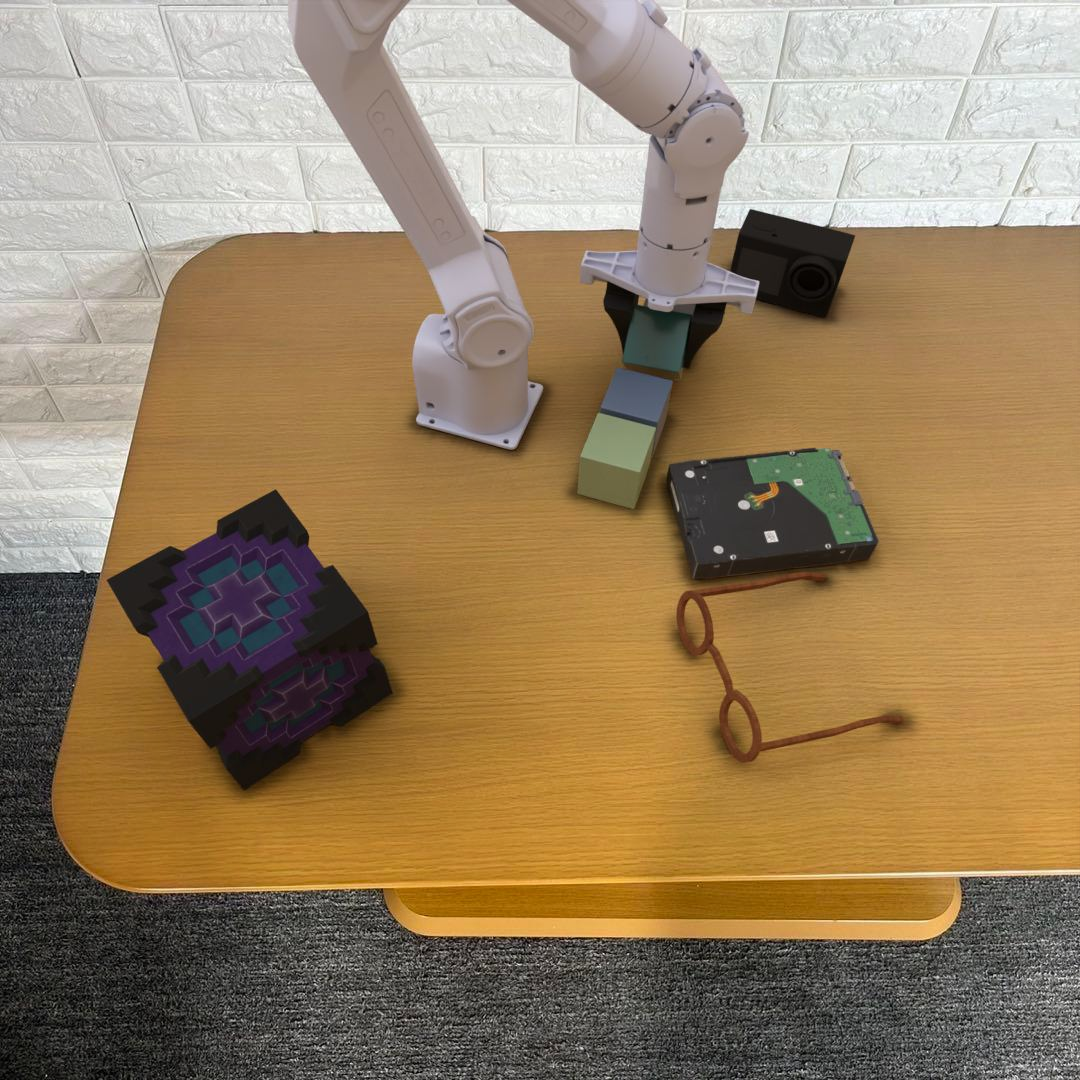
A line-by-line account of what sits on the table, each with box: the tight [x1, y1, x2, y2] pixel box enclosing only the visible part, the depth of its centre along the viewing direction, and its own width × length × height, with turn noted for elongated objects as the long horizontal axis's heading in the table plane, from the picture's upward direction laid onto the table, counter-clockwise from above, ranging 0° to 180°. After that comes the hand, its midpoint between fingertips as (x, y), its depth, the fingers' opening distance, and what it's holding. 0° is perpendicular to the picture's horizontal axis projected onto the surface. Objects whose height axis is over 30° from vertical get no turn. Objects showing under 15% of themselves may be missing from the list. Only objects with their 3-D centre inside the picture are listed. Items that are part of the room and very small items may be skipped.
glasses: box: [676, 571, 906, 764], centre depth 65 cm, size 13×13×5 cm
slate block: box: [599, 366, 674, 461], centre depth 78 cm, size 5×5×5 cm
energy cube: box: [106, 489, 394, 791], centre depth 61 cm, size 12×12×12 cm
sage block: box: [577, 412, 656, 510], centre depth 75 cm, size 5×5×5 cm
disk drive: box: [665, 447, 880, 580], centre depth 73 cm, size 10×3×15 cm
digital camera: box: [729, 208, 856, 319], centre depth 87 cm, size 10×5×7 cm, turn 67°
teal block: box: [621, 304, 692, 381], centre depth 79 cm, size 5×5×5 cm
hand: (657, 354), depth 81 cm, fingers closed on teal block, 5 cm apart
